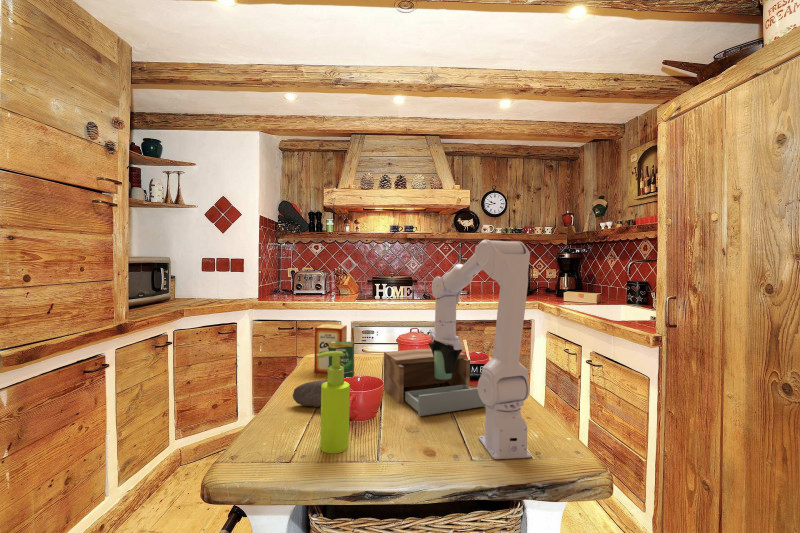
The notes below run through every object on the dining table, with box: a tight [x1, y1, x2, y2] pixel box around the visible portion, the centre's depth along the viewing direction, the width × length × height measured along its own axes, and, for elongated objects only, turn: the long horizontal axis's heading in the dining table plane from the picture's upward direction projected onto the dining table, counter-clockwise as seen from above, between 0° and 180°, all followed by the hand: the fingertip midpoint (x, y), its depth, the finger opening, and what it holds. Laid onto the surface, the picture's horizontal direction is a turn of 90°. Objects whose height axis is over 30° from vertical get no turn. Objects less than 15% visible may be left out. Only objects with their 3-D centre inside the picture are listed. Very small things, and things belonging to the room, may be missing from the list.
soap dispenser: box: [316, 351, 351, 454], centre depth 81 cm, size 6×7×20 cm
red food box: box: [313, 323, 348, 374], centre depth 136 cm, size 10×6×16 cm
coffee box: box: [329, 341, 355, 378], centre depth 122 cm, size 8×3×13 cm, turn 86°
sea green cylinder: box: [434, 349, 452, 380], centre depth 105 cm, size 5×5×7 cm
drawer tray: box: [404, 384, 486, 417], centre depth 105 cm, size 11×21×5 cm, turn 113°
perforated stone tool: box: [292, 379, 328, 408], centre depth 103 cm, size 15×5×7 cm, turn 88°
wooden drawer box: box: [382, 347, 471, 404], centre depth 116 cm, size 13×23×11 cm, turn 113°
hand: (444, 370), depth 106 cm, fingers closed on sea green cylinder, 5 cm apart
